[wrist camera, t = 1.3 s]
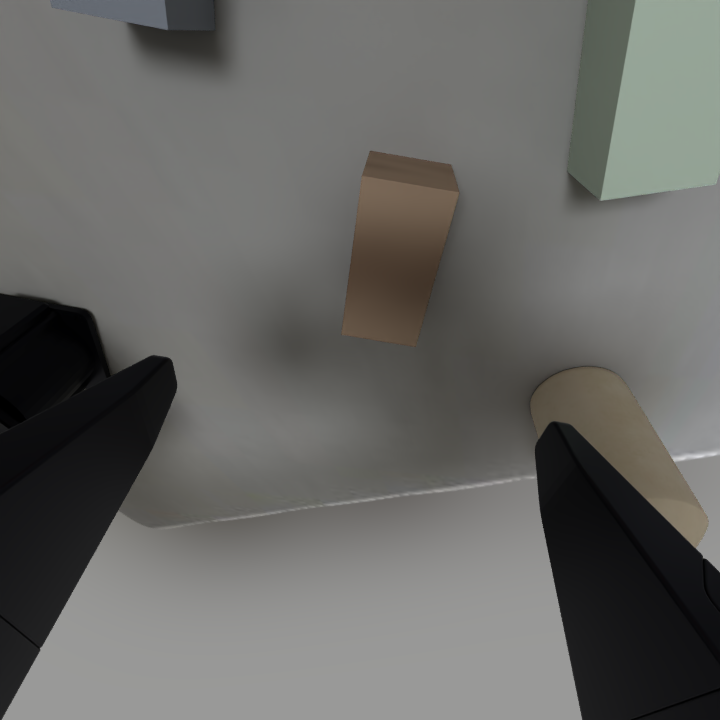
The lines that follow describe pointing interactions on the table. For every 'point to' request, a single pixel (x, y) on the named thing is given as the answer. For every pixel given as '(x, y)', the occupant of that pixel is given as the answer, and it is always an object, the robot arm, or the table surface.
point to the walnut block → (397, 246)
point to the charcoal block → (148, 12)
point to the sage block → (647, 98)
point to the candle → (620, 440)
